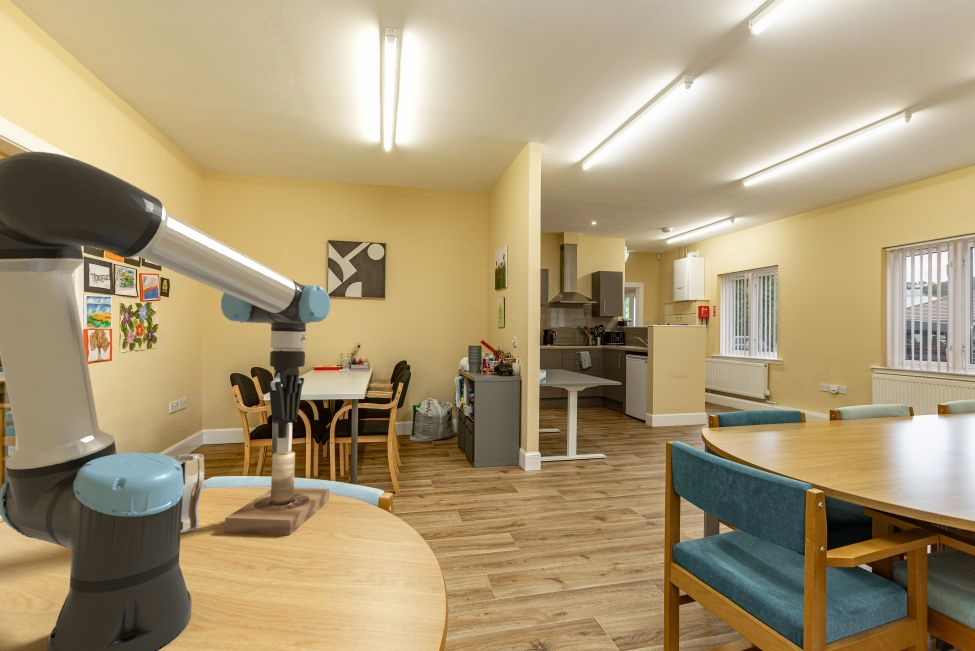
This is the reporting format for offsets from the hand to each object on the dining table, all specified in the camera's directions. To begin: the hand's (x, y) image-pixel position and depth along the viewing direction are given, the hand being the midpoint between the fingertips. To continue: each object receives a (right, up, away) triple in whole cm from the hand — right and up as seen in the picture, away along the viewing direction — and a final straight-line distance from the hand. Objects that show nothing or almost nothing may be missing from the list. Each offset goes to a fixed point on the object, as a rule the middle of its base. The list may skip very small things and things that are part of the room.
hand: (284, 451), depth 103 cm
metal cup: (-18, -14, -9) cm, 24 cm away
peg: (0, -15, -1) cm, 15 cm away
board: (0, -15, -1) cm, 15 cm away
